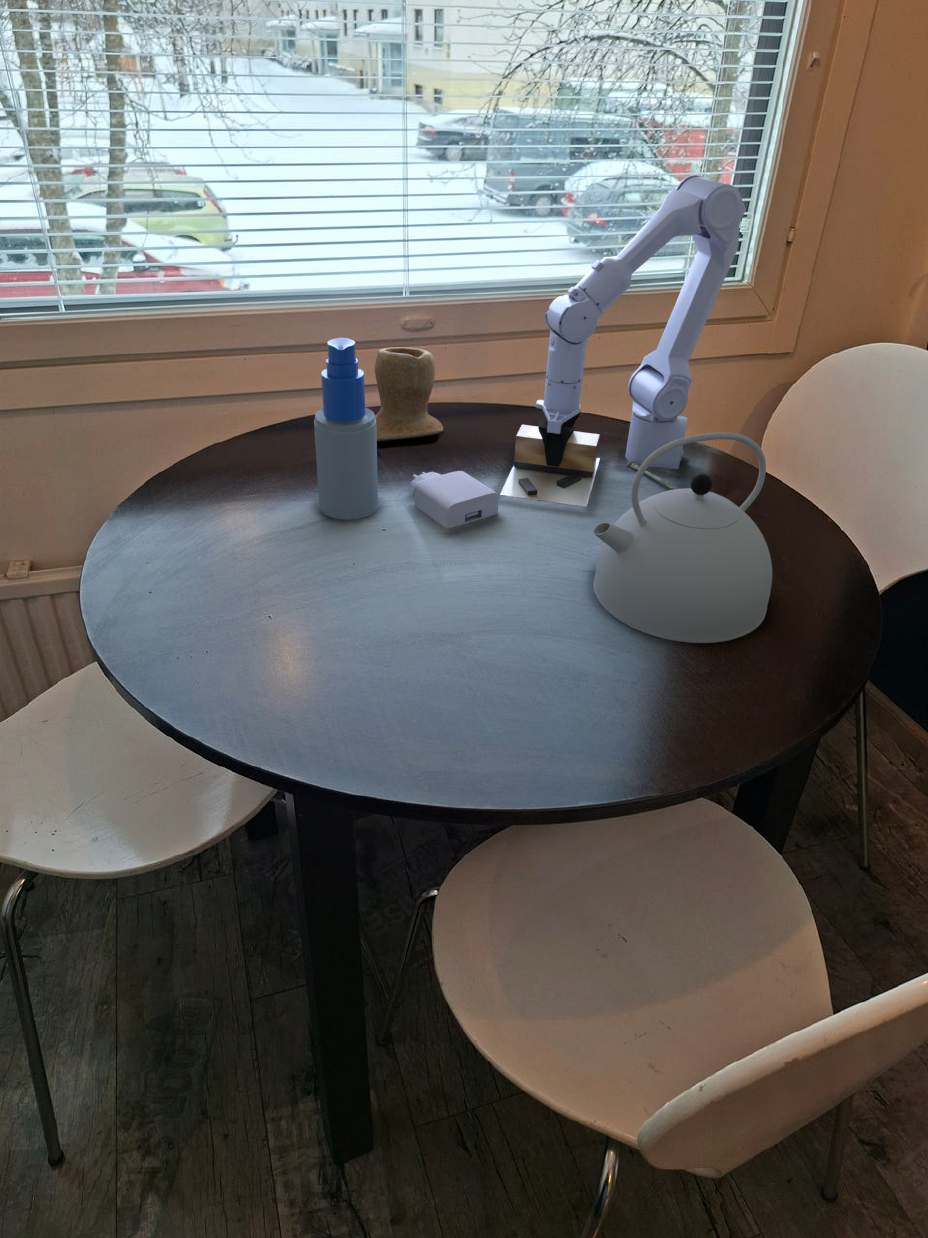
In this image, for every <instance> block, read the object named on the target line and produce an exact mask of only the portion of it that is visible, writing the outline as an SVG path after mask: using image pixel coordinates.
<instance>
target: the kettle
mask: <svg viewBox="0 0 928 1238" xmlns="http://www.w3.org/2000/svg"><path fill="white" fill-rule="evenodd" d="M713 440H715V441H716V440H729V441H736V442H740V443H743V444H745V445H746V446H748V447H749V448H750V449H752V450H753V452H754V453H755V455H756V456H757V460H758V466H759V467H758V468H759V469H758V477H757V481H756V484H755V486H754V488H753V489H752V491H751V492H750V494H749V495H748V497H747V498H746V499H745V500H744V501H743V502H742V504H741V505H740V506H738V505H737V504H735V503H734V502H733V501H731V500H730V499H728V498H726V497H724V496H722V495H720V494H717V493H715V492H712V491H711V490H712V488H713V480H712V478H711V476H709V475H708V474H706V473H698V474H695V475H694V476H693V477H692V478H691V481H690V488H678V489H674V490H672V489H669V490H665V491H662V492H660V493H659V492H658V493H657V494H654V495H651V496H649V497H647V498H645V499H642V500H641V501H640V500H639V489H640V484H641V481H642V478H643V476H644V475H645V473H644V472H645V470H646V471H647V469H648V468H649V467H648V466H649V465H650V464H651V463H652V462H653V461H654V460H655V459H656V458H658V457H659V456H660V455H662V454H663V453H665V452H667V451H669V450H671V449H673V448H676V447H678V446H681V445H683V446H685V445H688V444H692V443H697V442H706V441H713ZM639 467H640V468H639V469H638V471H636V473H635V475H634V477H633V482H632V485H631V491H630V498H631V505H632V507H630V508H629V509H628V510H627V511H625V513H623V514H622V515H621V516H620V517H619V518H618V519H617V520H616V522H615V523H614V524H613V523H611V522H606V521H605V522H600V523H599V524H597V525H596V526H595V527H594V528H593V530H592V534H593V535H595V536H596V537H597V538H599V539H600V540H601V541H602V542H603V543H602V545H601V548H600V551H599V555H598V558H597V563H596V567H595V573H594V577H593V584H592V585H593V592H594V594H595V597H596V599H597V600H598V602H599V603H600V605H601V606H602V607H603V609H605V610H606V611H607V612H608V613H609V614H610V615H611V616H612V617H614V618H615V619H617V620H618V621H620V622H621V623H622V624H625V625H626V626H628V627H630V628H632V629H634V630H636V631H639V632H641V633H644V634H647V635H649V636H653V637H656V638H660V639H664V640H668V641H675V642H680V643H689V644H690V643H691V644H712V643H713V644H714V643H721V642H728V641H732V640H735V639H739V638H741V637H744V636H746V635H748V634H750V633H752V632H753V631H755V630H756V629H758V627H759V626H760V625H761V624H762V622H763V621H764V620H765V618H766V614H767V611H768V605H769V601H770V596H771V591H772V585H773V563H772V558H771V553H770V550H769V547H768V544H767V542H766V539H765V537H764V535H763V533H762V532H761V530H760V528H759V527H758V525H757V524H756V522H755V521H754V520H753V519H752V518H751V517H750V516H749V515H748V514H747V513H746V512H745V511H746V510H747V509H749V507H750V506H751V505H752V504H753V502H754V501H755V500H756V498H757V497H758V496H759V494H760V493H761V491H762V488H763V485H764V482H765V479H766V473H767V461H766V457H765V453H764V451H763V450H762V448H761V446H759V444H758V443H757V442H755V440H753V439H752V438H751V437H748V436H747V435H743V434H741V433H736V432H729V431H728V432H725V431H721V432H707V433H700V434H694V435H689V436H685V437H684V438H681V439H678V440H675V441H672V442H670V443H668V444H666V445H664V446H662V447H660V448H659V449H657V450H656V451H654V452H653V453H652V454H651V455H649V456H648V458H647V459H646V460H645V461H644V462H643V463H642V465H641V466H639Z"/></svg>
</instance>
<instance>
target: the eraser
mask: <svg viewBox="0 0 928 1238" xmlns="http://www.w3.org/2000/svg"><path fill="white" fill-rule="evenodd" d="M600 438H601V434H599V433H591V432H583V431H576V430H574V432H573V434H572V435H571V437H570V438H569V440H568V442H567V444H566V447H565V450H564V454H563V458H562V461H561V464H560V466H559V467H556V466H548V465H547V463H546V457H545V448H544V443H543V439H542V437H541V434H540V432H539V429H538V426H537V425H528V424H521V425H520V426H519V429H518V431H517V434H516V435H515V442H514V443H515V444H514V458H513V461H514V462H513V465H514V467H517V468H525V469H532V470H539V471H547V472H554V473H561V474H569V475H570V474H572V473H576V474H579V475H581V476H584V477H591V478H592V477H593V474H594V470H595V466H596V460H597V458H598V451H599V446H600V445H599V443H600Z"/></svg>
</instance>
